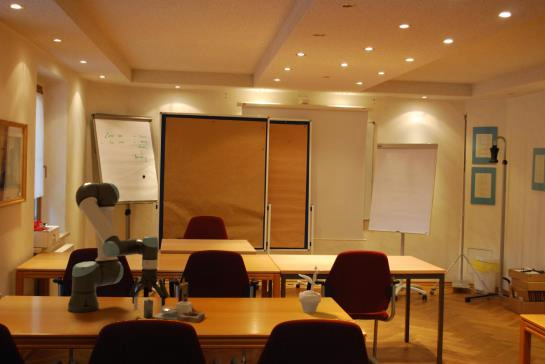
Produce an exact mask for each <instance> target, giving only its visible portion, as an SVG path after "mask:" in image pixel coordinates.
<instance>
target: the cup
mask: <svg viewBox="0 0 545 364" xmlns="http://www.w3.org/2000/svg"><path fill="white" fill-rule="evenodd" d="M192 303H193V302H192V301H191V302H190V301H188V302H182V301H181V302H179V303H178V302H177V303H176V305H175V307H176V309H179V312H178V313H176V315H181V314H182V313H187V316H188V312H193V309H192V308H193V307H192V306H193V304H192Z"/></svg>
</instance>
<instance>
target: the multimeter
mask: <svg viewBox="0 0 545 364" xmlns="http://www.w3.org/2000/svg"><path fill="white" fill-rule="evenodd" d="M185 271H186V273H188V272H187V269H184V270H183V271H180V273H179V274H182V276H183V277H182V282H181V281H180V280H181V275H179V278H178V279H179V280H178V291H177V292H178V294H177V295H178V296H177V297H178V298H177V303H179V302H181V301H182V302H189V300H188V299H189V298H188V297H189V282H188V281H187V280H188V274H186V278H185ZM185 281H186V282H185ZM180 282H181V283H180ZM192 310H195V311H196V309H195V308H194V307H193V305H192Z"/></svg>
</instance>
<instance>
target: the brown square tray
mask: <svg viewBox="0 0 545 364" xmlns="http://www.w3.org/2000/svg"><path fill="white" fill-rule="evenodd" d="M204 318H205V312H196V311H192V312H188V316H187V313H182V314H181V315H179V316H178V319H177V321H180V320H181V321H180V322H189V323H190V322H192V323H199V322H200V321H201V320H203V319H204Z"/></svg>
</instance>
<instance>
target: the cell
mask: <svg viewBox="0 0 545 364" xmlns="http://www.w3.org/2000/svg"><path fill="white" fill-rule="evenodd" d="M153 317H154V299H151V298H147V299H144V300H143V318H145V319H151V318H152V319H153Z"/></svg>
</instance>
